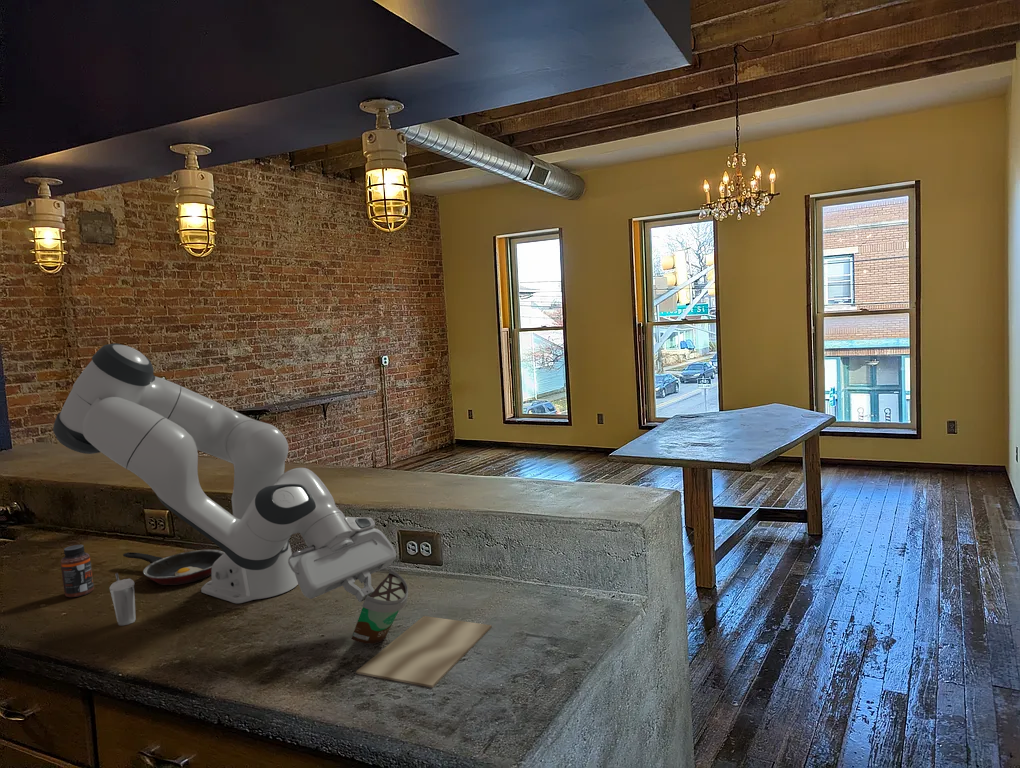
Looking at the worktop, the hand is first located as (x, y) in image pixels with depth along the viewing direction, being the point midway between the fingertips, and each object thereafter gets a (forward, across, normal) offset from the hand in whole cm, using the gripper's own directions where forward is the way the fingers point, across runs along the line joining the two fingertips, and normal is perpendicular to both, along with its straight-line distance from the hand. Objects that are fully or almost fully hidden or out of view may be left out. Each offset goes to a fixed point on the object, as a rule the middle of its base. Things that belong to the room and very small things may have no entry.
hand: (367, 597), depth 128 cm
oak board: (+14, +3, -3) cm, 15 cm away
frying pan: (-47, -4, +59) cm, 76 cm away
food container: (+6, +1, +5) cm, 7 cm away
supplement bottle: (-51, -23, +62) cm, 84 cm away
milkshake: (-31, -23, +42) cm, 58 cm away
